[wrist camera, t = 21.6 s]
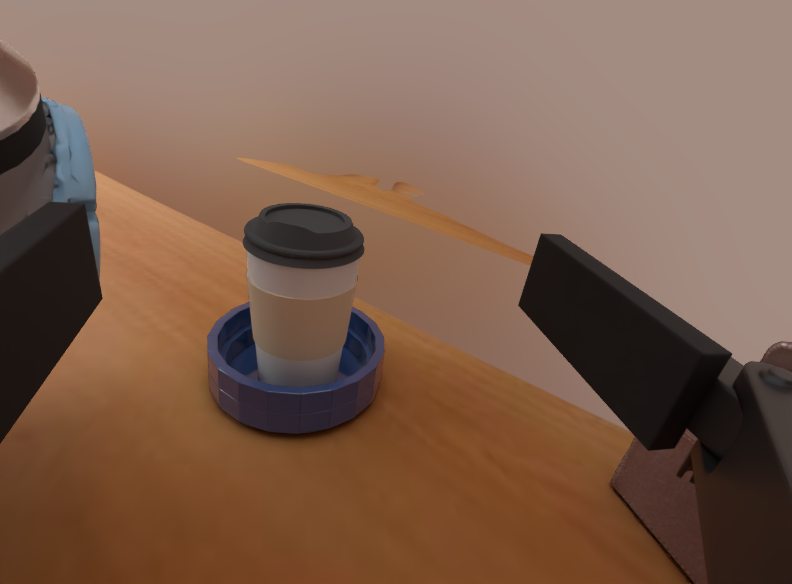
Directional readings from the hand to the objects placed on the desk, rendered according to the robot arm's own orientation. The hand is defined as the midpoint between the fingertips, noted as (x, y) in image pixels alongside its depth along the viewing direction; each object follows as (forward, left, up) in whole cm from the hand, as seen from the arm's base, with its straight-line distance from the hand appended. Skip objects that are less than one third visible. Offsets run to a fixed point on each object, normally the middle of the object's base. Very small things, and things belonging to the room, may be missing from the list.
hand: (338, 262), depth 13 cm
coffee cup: (-3, +20, -20) cm, 28 cm away
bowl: (-3, +20, -21) cm, 29 cm away
